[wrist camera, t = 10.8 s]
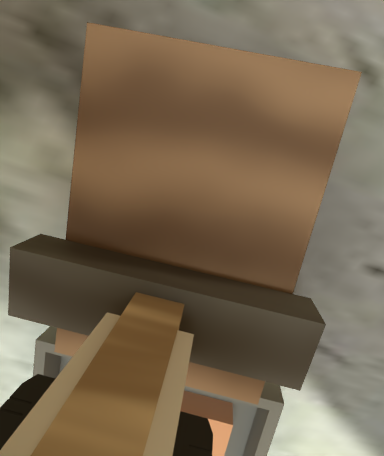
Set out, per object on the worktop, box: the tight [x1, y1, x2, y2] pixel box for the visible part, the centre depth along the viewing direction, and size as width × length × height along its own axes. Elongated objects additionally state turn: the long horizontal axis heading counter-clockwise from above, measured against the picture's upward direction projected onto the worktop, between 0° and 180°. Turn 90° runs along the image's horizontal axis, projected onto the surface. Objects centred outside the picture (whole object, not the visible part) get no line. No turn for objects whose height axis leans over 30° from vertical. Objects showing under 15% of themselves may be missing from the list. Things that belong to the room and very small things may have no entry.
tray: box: [33, 326, 284, 456], centre depth 23 cm, size 14×18×3 cm
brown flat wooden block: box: [54, 22, 362, 405], centre depth 19 cm, size 20×14×4 cm
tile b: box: [180, 390, 233, 456], centre depth 23 cm, size 5×5×2 cm
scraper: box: [8, 234, 326, 456], centre depth 10 cm, size 4×16×14 cm, turn 78°
